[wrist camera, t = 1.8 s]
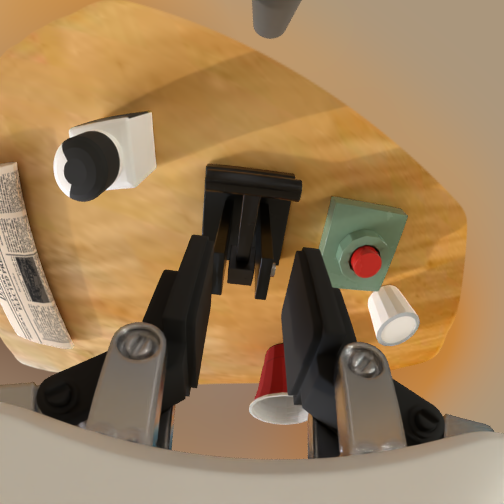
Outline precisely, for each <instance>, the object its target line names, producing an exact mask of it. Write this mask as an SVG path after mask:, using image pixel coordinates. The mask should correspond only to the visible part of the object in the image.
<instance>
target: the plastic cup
mask: <svg viewBox="0 0 504 504" xmlns="http://www.w3.org/2000/svg"><path fill="white" fill-rule="evenodd" d="M249 412H250V413H251V414H252V415H253V417H255V418H257V419H259V420H261V421H264V422H268V423H273V424H295V423H301V422H305V421H308V412H307V411H306V410H304V409H303V408H302V405H294V401H293V396H288V393H287V381H286V368H285V356H284V344H278V345H274V346H272V347H271V348H269V350H268V351H267V353H266V355H265V361H264V366H263V369H262V373H261V378H260V383H259V387H258V391H257V394H256V396H255V399H254V401H253V402H252V403H251V404H250V408H249Z"/></svg>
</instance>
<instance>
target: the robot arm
mask: <svg viewBox="0 0 504 504" xmlns="http://www.w3.org/2000/svg"><path fill="white" fill-rule="evenodd" d="M213 256H214V241H209V237H208V236H200V235H192V236H191V239H190V241H189V244H188V247H187V249H186V252H185V254H184V257H183V260H182V262H181V265H180V268H179V271H172V270H164V271H163V273H162V275H161V278H160V280H159V282H158V285H157V287H156V289H155V292H154V294H153V297H152V299H151V301H150V304H149V306H148V309H147V311H146V314H145V316H144V319H143V321H142V322H135V323H131V324H127V325H125V326H123V327H121V328H120V329H119V330H118V331H117V332H115V334H114V336H113V338H112V340H111V343H110V346H109V349H108V351H107V352H105V353H102V354H100V355H98V356H96V357H93V358H91V359H89V360H87V361H84V362H82V363H80V364H77V365H75V366H73V367H71V368H68V369H66V370H64V371H61V372H59V373H57V374H54V375H52V376H50V377H48V378H47V379H45V380H44V381H43V382H42V383H41V385H38V386H36V384H35V383H34V382H31V383H19V384H5V385H0V504H504V434H503V433H498V432H494V430H493V429H492V428H491V427H490V426H488V425H486V424H483V423H479V422H475V421H471V420H467V419H463V418H459V417H456V416H452V415H448V414H445V415H444V416H442V414H441V413H440V411H439V410H438V409H437V408H436V407H435V406H434V405H432V404H430V403H429V402H427V401H426V400H424V399H423V398H421V397H420V396H418V395H417V394H415V393H414V392H412V391H411V390H409V389H408V388H406V387H404V386H403V385H401V384H400V383H398V382H397V381H395V380H394V379H392V376H391V372H390V368H389V364H388V361H387V359H386V357H385V355H384V354H383V353H382V352H381V351H380V350H379V349H377V348H376V347H375V346H373V345H370V344H368V343H363V342H357V340H356V337H355V333H354V330H353V327H352V324H351V321H350V318H349V315H348V312H347V309H346V306H345V303H344V300H343V297H342V294H341V291H340V289H338V288H333V287H332V284H331V281H330V278H329V275H328V272H327V269H326V266H325V263H324V260H323V257H322V254H321V251H320V249H314V248H306V247H303V249H302V251H297V252H296V254H295V259H294V263H293V267H292V271H291V276H290V280H289V284H288V288H287V292H286V296H285V300H284V304H283V308H282V315H281V320H282V331H283V343H284V356H285V368H286V381H287V393H288V396H293V401H294V405H302V408H303V409H304V410H306V411H307V412H308V459H279V460H278V459H274V460H273V459H245V458H230V457H219V456H209V455H201V454H193V453H186V452H180V451H173V450H172V437H173V425H174V415H175V404H177V403H179V402H180V401H182V400H184V399H185V396H189V395H190V389H191V387H192V388H197V385H198V379H199V373H200V367H201V361H202V355H203V349H204V343H205V337H206V331H207V325H208V319H209V314H210V307H211V291H212V273H213Z"/></svg>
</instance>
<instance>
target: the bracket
mask: <svg viewBox="0 0 504 504" xmlns="http://www.w3.org/2000/svg"><path fill="white" fill-rule="evenodd" d="M208 169H216V170H226V171H235V172H244V173H253V174H261V175H269V176H276V177H284V178H291V179H295V175H294V174H291V173H284V172H277V171H270V170H262V169H254V168H245V167H236V166H227V165H217V164H208V165H207V166H206V172H207V170H208ZM242 203H243V195H239V194H230V193H220V192H210V191H205V192H204V208H203V227H202V236H208V237H209V241H214V256H213V273H212V291H211V294H216V295H221V294H222V287H223V280H224V274H225V267H226V261H227V260H229V259H230V251H231V245H236V246H237V245H238V237H239V228H240V219H241V211H242ZM290 204H291V201H287V200H280V199H272V198H264V197H260V203H259V208H258V214H257V219H256V225H255V230H254V235H253V241H252V246H251V247H254V248H256V255H255V299H262V300H266V296H267V291H268V286H269V281H270V277H274V274H275V267H276V265H279V260H280V255H281V250H282V245H283V240H284V235H285V230H286V225H287V219H288V214H289V209H290Z"/></svg>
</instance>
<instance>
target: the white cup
mask: <svg viewBox="0 0 504 504" xmlns="http://www.w3.org/2000/svg"><path fill="white" fill-rule="evenodd" d="M368 308H369V311H370V315H371V319H372V322H373V326H374V330H375V334H376V338H377V340H378V342H379V343H380V344H382V345H384V346H394V345H398V344H400V343H402V342H404V341H406V340H408V339H409V338H410V337H411V336H413V335H414V333H415V332H416V330H417V329H418V326H419V323H420V321H419V317H418V315H417V314H416V312H415V311H414V310H413V308H412V307H411V305H410V304H409V303H408V301H407V300H406V299H405V297H404V296H403V294H402V293H401V292H400V290H399V289H398V288H397V287H395V286H392V285H386V286H382V287H380V290H379V291H374V292H373V293H372V294H371V296H370V297H369V299H368Z"/></svg>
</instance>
